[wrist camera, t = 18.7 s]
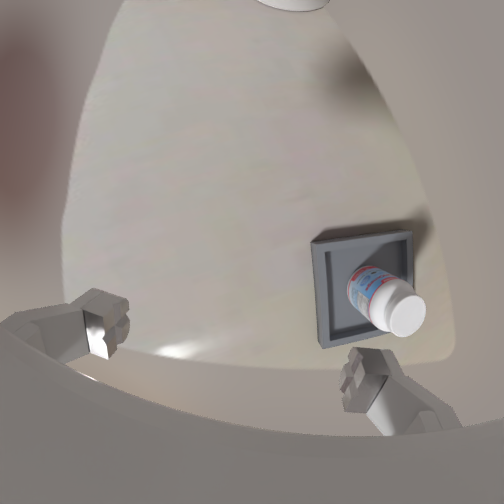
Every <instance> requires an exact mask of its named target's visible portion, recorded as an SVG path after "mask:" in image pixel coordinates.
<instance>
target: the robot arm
mask: <svg viewBox="0 0 504 504" xmlns="http://www.w3.org/2000/svg"><path fill="white" fill-rule="evenodd" d="M258 1H260V2H262V3H264V4H266V5H269V6H272V7H275V8H279V9H283V10H290V11H310V10H315V9H319V8H321V7H323V6H325V5H326V4H327V3H328V2H329V1H330V0H258ZM128 311H129V302H128V300H127V299H126V298H123V297H120V296H117V295H114V294H111V293H108V292H105V291H102V290H99V289H96V288H92V289H90V290H89V291H87V292H86V293H84V294H83V295H82V296H80V297H79V298H77V299H76V300H75V301H73V302H72V303H70V304H67V303H65V304H59V305H54V306H48V307H43V308H37V309H32V310H26V311H20V312H15V313H14V314H12V315H11V316H9V317H8V318H6V319H5V320H3V321H2V322H1V323H0V504H504V418H500V419H496V420H492V421H488V422H485V423H480V424H475V425H471V426H466V427H462V425H461V423H460V421H459V419H458V417H457V416H456V413H455V411H454V410H453V408H452V407H451V406H449V405H448V404H446V403H445V402H444V401H442V400H440V399H439V398H438V397H437V396H435V395H434V394H432V393H431V392H429V391H428V390H427V389H425V388H424V387H422V386H421V385H420V384H418V383H417V382H416V381H414V380H413V379H411V378H410V377H408V376H405V375H404V373H403V371H402V369H401V367H400V365H399V363H398V361H397V359H396V357H395V355H394V353H393V352H392V351H391V350H387V349H371V348H360V347H353V348H352V349H351V350H350V352H349V355H348V358H349V362H348V363H347V364H345V365H344V366H343V368H342V371H341V374H340V379H339V387H340V390H341V391H342V392H343V393H344V396H343V398H342V401H343V407H344V411H345V412H353V413H366V415H367V416H368V417H369V418H370V420H371V421H372V422H373V423H374V424H375V425H376V427H377V428H378V429H379V430H380V431H381V432H382V434H383V435H384V436H365V437H363V436H362V437H358V436H357V437H355V436H352V437H351V436H325V435H311V434H299V433H291V432H282V431H274V430H267V429H261V428H255V427H250V426H244V425H239V424H233V423H229V422H224V421H219V420H215V419H210V418H207V417H202V416H199V415H195V414H191V413H187V412H184V411H180V410H176V409H173V408H170V407H166V406H164V405H161V404H158V403H154V402H151V401H148V400H145V399H143V398H140V397H137V396H135V395H132V394H129V393H127V392H124V391H122V390H119V389H116V388H114V387H112V386H109V385H107V384H105V383H102V382H100V381H98V380H95V379H93V378H91V377H89V376H87V375H84V374H82V373H80V372H78V371H76V370H74V369H72V368H70V367H68V366H66V365H64V364H65V363H68V362H70V361H73V360H75V359H77V358H80V357H82V356H84V355H87V354H89V352H90V353H93V354H95V355H98V356H100V357H103V358H105V359H109V358H110V357H111V356H112V355H113V354H114V353H115V351H116V350H117V345H118V344H121V343H123V342H124V341H125V339H126V338H127V335H128V333H129V328H130V320H129V318H128V316H127V315H126V313H127V312H128Z"/></svg>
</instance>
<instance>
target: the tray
mask: <svg viewBox="0 0 504 504" xmlns="http://www.w3.org/2000/svg"><path fill="white" fill-rule="evenodd" d="M311 252H312V262H313V274H314V286H315V300H316V315H317V333H318V342H319V344H320V345H321V347H322V349H325V348H330V347H335V346H339V345H344V344H348V343H352V342H356V341H360V340H364V339H368V338H372V337H376V336H379V335H383V334H387V333H390V332H386V331H382V330H380V329H378V328H377V327H376V326H375V325H374V324H372V323H371V322H370V321H369V320H368V319H367V318H366V317H365V316H364V315H363V314H362V313H361V312H359V311H358V310H357V309H356V308H355V307H354V306H353V305H352V304H351V303H350V301H349V298H348V295H347V285H348V281H349V279H350V277H351V276H352V275H353V273H354V272H355V271H357V270H358V269H359V268H361V267H364V266H375V267H378V268H380V269H382V270H384V271H386V272H388V273H390V274H392V275H394V276H396V277H398V278H400V279H402V280H404V281H406V282H408V283H409V284H410V285H411V286H412V287H413V240H412V231H409V230H403V229H402V230H395V231H388V232H380V233H373V234H366V235H358V236H351V237H344V238H337V239H329V240H322V241H315V242H311Z"/></svg>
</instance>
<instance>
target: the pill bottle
mask: <svg viewBox="0 0 504 504" xmlns="http://www.w3.org/2000/svg"><path fill="white" fill-rule="evenodd" d="M347 295H348V298H349V301H350V303H351V304H352V305H353V306H354V307H355V308H356V309H357V310H358V311H359V312H361V313H362V314H363V315H364V316H365V317H366V318H367V319H368V320H369V321H370V322H371V323H372V324H374V325H375V326H376V327H377V328H378V329H380V330H382V331H386V332H392V333H394V334H395V335H396V336H399V337H406V336H409V335H411V334H413V333H414V332H415V331H417V330H418V328H419V327H420V326H421V324H422V323H423V321H424V318H425V314H426V305H425V302H424V300H423V299H422V298H421V297H420V296H418V295H417V294H415V291H414V289H413V287H412V286H411V285H410V284H409V283H408V282H406V281H404V280H402V279H400V278H398V277H396V276H394V275H392V274H390V273H388V272H386V271H384V270H382V269H380V268H378V267H375V266H364V267H361V268H359V269H358V270H357V271H355V272H354V273H353V275H352V276H351V277H350V279H349V281H348V285H347Z"/></svg>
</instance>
